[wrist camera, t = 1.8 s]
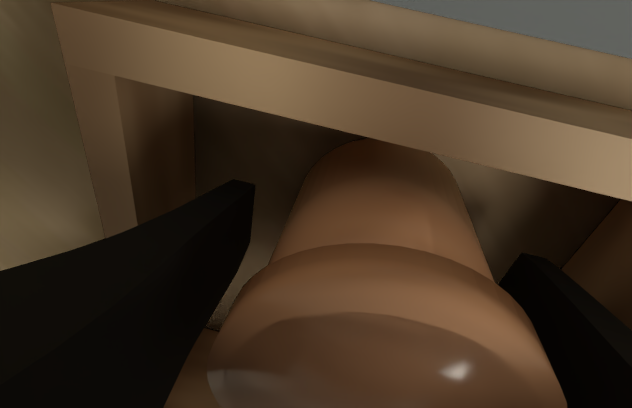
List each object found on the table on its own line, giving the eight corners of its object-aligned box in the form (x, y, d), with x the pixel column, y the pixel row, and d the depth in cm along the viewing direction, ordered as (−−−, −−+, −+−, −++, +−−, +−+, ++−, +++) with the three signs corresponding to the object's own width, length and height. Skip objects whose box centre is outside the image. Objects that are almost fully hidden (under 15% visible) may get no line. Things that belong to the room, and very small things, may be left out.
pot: (509, 154, 9) (677, 370, 4) (430, 294, 12) (463, 512, 7) (304, 106, 9) (205, 246, 4) (280, 254, 12) (207, 437, 7)
